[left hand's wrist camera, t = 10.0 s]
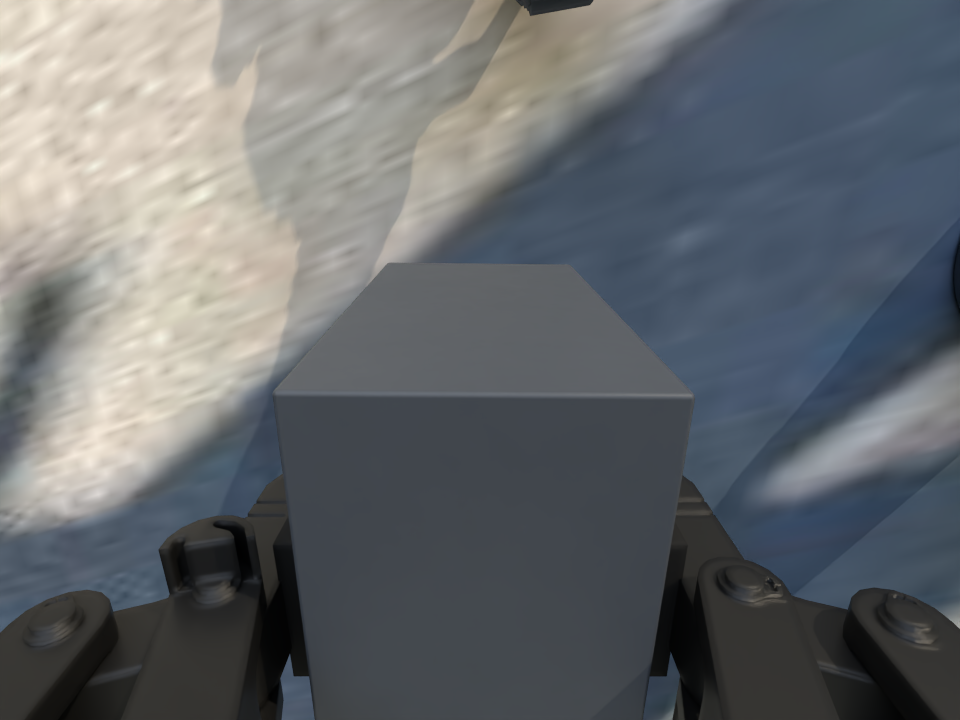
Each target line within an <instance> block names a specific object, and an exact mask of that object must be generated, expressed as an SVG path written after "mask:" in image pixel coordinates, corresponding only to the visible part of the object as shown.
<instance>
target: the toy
mask: <svg viewBox="0 0 960 720" xmlns="http://www.w3.org/2000/svg"><path fill="white" fill-rule="evenodd" d="M516 1H517V2H518V3H519V4H520V5H521V6H524V8H527V11H529V13H530V16H532V15H537V14H543V13H549V12H554V11H560V10H565V9H571V8H576V7H582V6H587V5H590V4H591V3H592V2H593V0H516Z"/></svg>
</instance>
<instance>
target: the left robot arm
mask: <svg viewBox="0 0 960 720" xmlns="http://www.w3.org/2000/svg"><path fill="white" fill-rule="evenodd" d="M954 286H955V294H956V299H957V302H958V306H959V308H960V245H959V249H958V253H957V257H956V263H955V272H954ZM159 554H160V557H161V561H162V565H163V569H164V573H165V577H166V581H167V585H168V589H169V593H170V595H169V597H168V598H167V599H163V600H160V601H157V602H153V603H149V604H145V605H141V606H136V607H132V608H128V609H123V610H119V611H115V612H113V610H112V606H111V603H110V600H109V599H108V598H107V597H106V596H105V595H104V594H103V593H102V592H97V591H91V590H82V591H75V592H68V593H65V594H62V595H59V596H56V597H53V598H50V599H47V600H45V601H44V602H42V603H40V604H38V605H36V606H34V607H32V608H31V609H29V610H27V611H25V612H24V613H23V614H22V615H20V616H19V617H18V618H17V619H15V620H14V621H13V622H12V623H10V624H9V625H8V626H7V627H6V628H5V629H4V630H3V631H2V632H1V633H0V720H281V719H282V709H283V693H282V686H281V680H280V677H281V675H282V672H283V670H284V667H285V664H286V662H287V659H288V657H289V654H290V656H291V662H292V668H293V674H294V676H309V670H308V663H307V655H306V647H305V640H304V632H303V624H302V617H301V609H300V601H299V594H298V586H297V578H296V571H295V563H294V555H293V548H292V540H291V532H290V525H289V517H288V509H287V502H286V494H285V486H284V479H283V474H282V475H280V476H279V477H278V478H276V479H275V480H273V481H272V482H271V483H269V484H268V485H267V486H266V487H265V489H264V490H263V492H262V493H261V495H260V496H259V498H258V499H257V503H256V504H254V505H253V507H252V509H251V510H250V512H249V513H248V517H246V518H245V519H244V518H241V517H237V516H214V517H210V518H206V519H202V520H198V521H196V522H194V523H191V524H189V525H187V526H185V527H182V528H181V529H179V530H178V531H177V532H175V533H174V534H172V535H171V536H170V537H168V538H167V539H166V541H165V542H164V543H163V545H162V546H161V547H160V548H159ZM670 652H671V653H672V656H673V658H674V661H675V664H676V666H677V669H678V671H679V674H680V680H679V686H678V691H677V697H676V703H675V709H674V714H673V720H960V629H959V628H958V627H957V626H956V625H955V624H954V623H953V622H952V621H950V620H949V619H948V618H946V617H945V616H944V615H943V614H941V613H940V612H939V611H938V610H936V609H935V608H933V607H931V606H929V605H927V604H926V603H924V602H922V601H920V600H918V599H916V598H914V597H912V596H909V595H906V594H903V593H900V592H897V591H894V590H888V589H880V588H869V589H863V590H859V591H858V592H857V593H856V594H855V595H854V596H852V598H851V601H850V605H849V608H848V610H847V609H842V608H838V607H834V606H829V605H825V604H821V603H816V602H812V601H808V600H804V599H801V598H798V597H794V596H791V594H790V592H789V591H788V589H787V588H786V586H785V585H784V583H783V582H782V581H781V580H780V579H779V578H778V577H777V576H775V575H774V574H773V573H772V572H770V571H769V570H768V569H766V568H764V567H762V566H760V565H758V564H756V563H754V562H751V561H748V560H744V558H743V557H742V555H741V554H740V552H739V551H738V549H737V548H736V546H735V545H734V543H733V542H732V540H731V539H730V537H729V536H728V534H727V533H726V531H725V530H724V528H723V527H722V525H721V524H720V522H719V521H718V519H717V518H716V516H715V515H713V512H712V510H711V509H710V507H709V506H708V504H707V503H706V502H704V498H703V497H702V495H701V494H700V492H699V491H698V489H697V488H696V486H695V485H694V483H692V482H691V481H689V480H688V479H687V478H685V477H684V476H683V475H682V480H681V486H680V493H679V499H678V505H677V511H676V517H675V523H674V529H673V535H672V542H671V548H670V554H669V560H668V566H667V572H666V578H665V584H664V591H663V597H662V603H661V609H660V615H659V621H658V627H657V633H656V640H655V646H654V652H653V658H652V664H651V670H650V676H667V670H668V664H669V658H670Z"/></svg>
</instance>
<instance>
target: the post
mask: <svg viewBox="0 0 960 720" xmlns="http://www.w3.org/2000/svg"><path fill="white" fill-rule="evenodd" d="M694 401H695V397H694V394H693V393H692V392H691V391H690V390H689V389H688V387H687V386H686V385H685V384H684V383H683V382H682V381H681V380H680V379H679V378H678V377H677V376H676V375H675V374H674V373H673V372H672V371H671V370H670V369H669V368H668V367H667V366H666V365H665V364H664V362H663V361H662V360H661V359H660V358H659V357H658V356H657V355H656V354H655V353H654V352H653V351H652V350H651V349H650V348H649V347H648V346H647V345H646V344H645V343H644V342H643V341H642V340H641V338H640V337H639V336H638V335H637V334H636V333H635V332H634V331H633V330H632V329H631V328H630V327H629V326H628V325H627V324H626V323H625V322H624V321H623V320H622V319H621V318H620V317H619V316H618V315H617V313H616V312H615V311H614V310H613V309H612V308H611V307H610V306H609V305H608V304H607V303H606V302H605V301H604V300H603V299H602V298H601V297H600V296H599V295H598V294H597V293H596V292H595V291H594V290H593V288H592V287H591V286H590V285H589V284H588V283H587V282H586V281H585V280H584V279H583V278H582V277H581V276H580V275H579V274H578V273H577V272H576V271H575V270H574V269H573V268H572V267H571V266H570V265H543V264H453V263H388V264H387V265H386V266H385V267H384V268H383V269H382V270H381V271H380V273H379V274H378V275H377V276H376V277H375V278H374V279H373V280H372V282H371V283H370V284H369V285H368V286H367V287H366V288H365V289H364V290H363V292H362V293H361V294H360V295H359V296H358V297H357V298H356V299H355V300H354V302H353V303H352V304H351V305H350V306H349V307H348V308H347V309H346V311H345V312H344V313H343V314H342V315H341V316H340V317H339V318H338V319H337V321H336V322H335V323H334V324H333V325H332V326H331V327H330V328H329V330H328V331H327V332H326V333H325V334H324V335H323V336H322V337H321V338H320V340H319V341H318V342H317V343H316V344H315V345H314V346H313V347H312V348H311V350H310V351H309V352H308V353H307V354H306V355H305V356H304V357H303V359H302V360H301V361H300V362H299V363H298V364H297V365H296V366H295V367H294V369H293V370H292V371H291V372H290V373H289V374H288V375H287V376H286V378H285V379H284V380H283V381H282V382H281V383H280V384H279V385H278V386H277V388H276V389H275V390H274V392H273V402H274V410H275V417H276V425H277V433H278V440H279V448H280V456H281V463H282V471H283V479H284V486H285V494H286V502H287V509H288V517H289V525H290V532H291V540H292V548H293V555H294V563H295V571H296V578H297V586H298V594H299V601H300V609H301V617H302V624H303V632H304V640H305V647H306V655H307V663H308V670H309V678H310V686H311V693H312V701H313V709H314V716H315V720H642V719H643V713H644V707H645V701H646V695H647V689H648V682H649V676H650V670H651V664H652V658H653V652H654V646H655V640H656V633H657V627H658V621H659V615H660V609H661V603H662V597H663V591H664V584H665V578H666V572H667V566H668V560H669V554H670V548H671V542H672V535H673V529H674V523H675V517H676V511H677V505H678V499H679V493H680V486H681V480H682V474H683V468H684V462H685V456H686V450H687V444H688V437H689V431H690V425H691V419H692V413H693V407H694Z"/></svg>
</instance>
